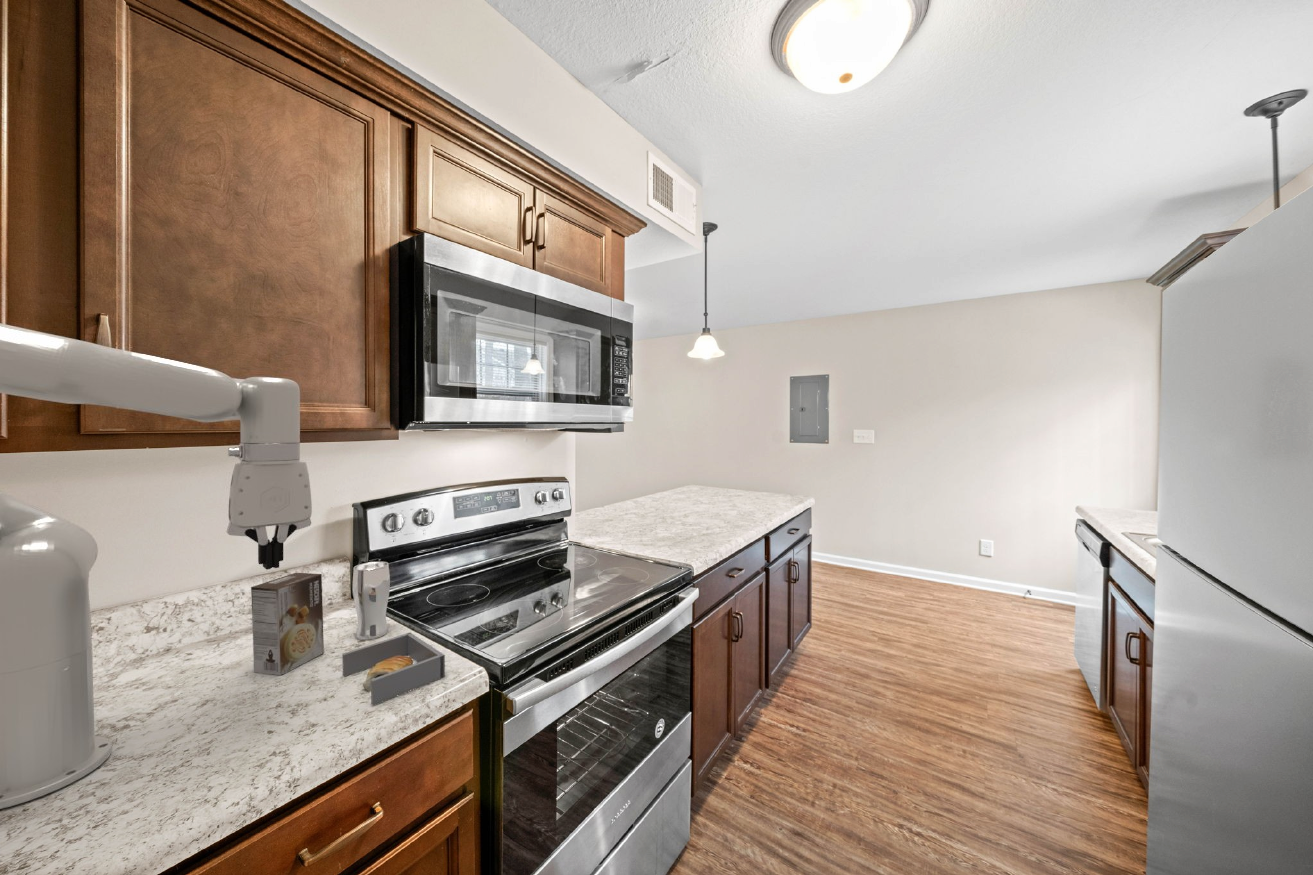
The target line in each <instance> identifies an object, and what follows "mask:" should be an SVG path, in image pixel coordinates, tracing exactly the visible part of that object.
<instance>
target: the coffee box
mask: <svg viewBox="0 0 1313 875" xmlns="http://www.w3.org/2000/svg"><path fill="white" fill-rule="evenodd" d="M250 588H251V589H250V590H251V591H250V592H251V618H252V650H253V651H252V654H253V657H252V658H253V672H254V673H255V672H259V673H258V674H263V673H265V674H264V675H272V674H275V675H274V676H280V675H281V676H282V674H283V675H285V674H286V672H287V673H288V671H289V672H291V671H292V670H294V669H296V668H298V667H300V666H302V665H304V664H305V662H306V663H307V662H309V661H311V660H314V659H315V658H316V657H319V656H321V655H322V653H323V654H324V653H325V643H324V610H323V609H324V608H323V578H322V573H313V572H312V573H309V572H294V573H290V574H287V575H285V576H281V577H277V578H276V579H275V578H274V579H272V580H269V581H265V582H263V583H260V584H256V585H252V586H251V587H250ZM320 654H321V655H320ZM303 663H304V664H303ZM301 664H302V665H301ZM299 665H300V666H299ZM290 670H291V671H290Z"/></svg>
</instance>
